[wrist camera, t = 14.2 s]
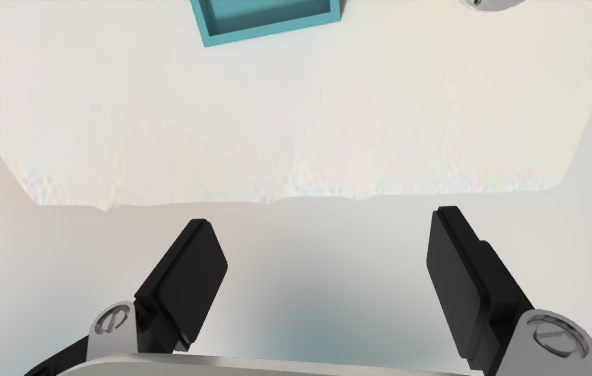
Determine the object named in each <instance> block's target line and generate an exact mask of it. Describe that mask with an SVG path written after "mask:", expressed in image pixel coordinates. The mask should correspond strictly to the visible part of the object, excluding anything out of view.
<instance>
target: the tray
mask: <svg viewBox="0 0 592 376" xmlns="http://www.w3.org/2000/svg"><path fill="white" fill-rule="evenodd" d="M190 1H191V5H192V8H193V11H194V15H195V18H196V21H197V24H198V28H199V31H200V34H201V38H202V41H203V44H204V47H210V46H215V45H220V44H226V43H231V42H236V41H241V40H246V39H251V38H256V37H261V36H267V35H272V34H277V33H282V32H287V31H292V30H297V29H302V28H308V27H313V26H318V25H323V24H328V23H333V22H338V21H341V19H340V4H339V0H190Z"/></svg>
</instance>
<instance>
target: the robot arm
mask: <svg viewBox="0 0 592 376" xmlns="http://www.w3.org/2000/svg"><path fill="white" fill-rule="evenodd" d="M460 1H461V3H463V4H464V5H465V6H467V7H468V8H470V9H473V10H475V11H479V12H497V11H502V10H506V9H509V8H512V7H514V6H516V5H518V4H520V3H522V2H524V1H526V0H477V2H476V4H474V1H475V0H460ZM426 262H427V268H428V271H429V274H430V277H431V279H432V282H433V285H434V288H435V290H436V293H437V296H438V298H439V301H440V304H441V306H442V309H443V312H444V315H445V317H446V320H447V323H448V325H449V328H450V331H451V333H452V336H453V339H454V341H455V344H456V347H457V350H458V352H459V355H460V356H461V358H466V359H467V361H468V364H469V366H470V369H471V370H482V371H483V373H484V376H592V338H591V337H590V336H589V335H588V334H587V332H586V331H585V330H584V329H582V328H581V327H580V326H579V325H577V324H576V323H575V322H573V321H571V320H569V319H568V318H566V317H564V316H562V315H559V314H556V313H554V312H551V311H546V310H541V309H537V310H535V308H534V307H533V306H532V304H531V303H530V301H529V300H528V298H527V297H526V295H525V294H524V293H523V291H522V290H521V288H520V287H519V285H518V284H517V283H516V281H515V280H514V278H513V277H512V275H511V274H510V272H509V271H508V269H507V268H506V267H505V265H504V264H503V262H502V261H501V260H500V258H499V257H498V255H497V254H496V252H495V251H494V250H493V248H492V247H491V245H490V244H489V243H488V242H487V241H484V240H483V241H480V240H479V238H478V237H477V235H476V234H475V233H474V231H473V229H472V228H471V227H470V225H469V223H468V222H467V220H466V219H465V217H464V216H463V214H462V213H461V211H460V210H459V208H458V207H457V206H442V207H439V208H438V211H433V214H432V222H431V230H430V237H429V245H428V252H427V261H426ZM227 268H228V264H227V261H226V258H225V256H224V254H223V251H222V249H221V247H220V245H219V242H218V240H217V237H216V235H215V233H214V230H213V228H212V225H211V223H210V222H207V220H206V219H192V220H190V222H189V223H188V224H187V226H186V227H185V228H184V230H183V231H182V232H181V234H180V235H179V236H178V238H177V239H176V240H175V242H174V243H173V244H172V246H171V247H170V248H169V250H168V251H167V252H166V254H165V255H164V256H163V258H162V259H161V260H160V262H159V263H158V264H157V265H156V267H155V268H154V269H153V271H152V272H151V273H150V275H149V276H148V277H147V279H146V280H145V282H144V283H143V284H142V285H141V287H140V288H139V290H138V291H137V292H136V293H135V295H134V297H135V298H136V300H135V301H134V303H132V302H130V301H122V302H118V303H116V304H113V305H112V306H110V307H108V308H107V309H106V310H104V311H103V312H102V313H101V314H100V315H99V316H98V317H97V318H96V319H95V320H94V322H93V324H92V325H91V328H90V331H89V335H88V336H86V337H84V338H82V339H81V340H79V341H77V342H76V343H74V344H72V345H71V346H69V347H67V348H66V349H64V350H62V351H60V352H59V353H57V354H55V355H54V356H52V357H50V358H49V359H47V360H45V361H43V362H42V363H40V364H38V365H37V366H35V367H34V368H33V369H31V370H30V371H29V372H28V373H27V374H25V375H24V376H468V375H460V374H453V373H443V372H431V371H420V370H409V369H397V368H383V367H369V366H355V365H340V364H327V363H312V362H296V361H281V360H266V359H251V358H234V357H219V356H201V355H183V354H172V353H173V350H175V351H183V352H188V350H189V347H190V345H191V343H194V342H195V340H196V338H197V336H198V334H199V332H200V329H201V327H202V325H203V323H204V321H205V318H206V316H207V314H208V312H209V310H210V307H211V305H212V303H213V301H214V298H215V296H216V294H217V292H218V289H219V287H220V285H221V283H222V281H223V278H224V276H225V274H226V272H227Z"/></svg>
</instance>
